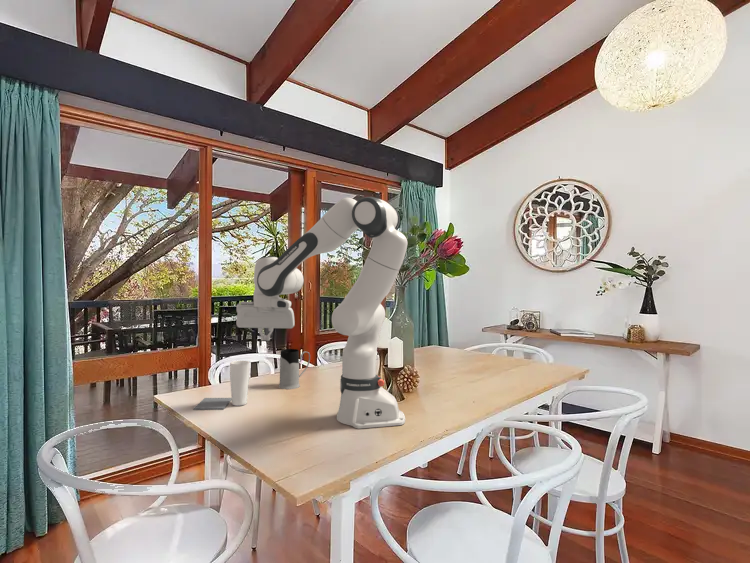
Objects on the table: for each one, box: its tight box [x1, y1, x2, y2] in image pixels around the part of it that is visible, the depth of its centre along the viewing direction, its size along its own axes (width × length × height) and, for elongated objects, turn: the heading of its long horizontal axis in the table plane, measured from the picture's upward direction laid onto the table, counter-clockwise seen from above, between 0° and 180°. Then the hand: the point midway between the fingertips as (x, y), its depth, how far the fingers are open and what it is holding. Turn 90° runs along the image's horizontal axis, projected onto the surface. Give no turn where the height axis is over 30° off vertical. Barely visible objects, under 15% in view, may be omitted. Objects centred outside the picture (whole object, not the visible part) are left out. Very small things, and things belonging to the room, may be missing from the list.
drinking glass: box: [229, 360, 251, 407], centre depth 151 cm, size 7×7×15 cm
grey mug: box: [278, 348, 311, 390], centre depth 177 cm, size 9×14×15 cm, turn 131°
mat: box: [192, 397, 232, 411], centre depth 151 cm, size 10×12×1 cm
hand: (265, 340), depth 152 cm, fingers closed
